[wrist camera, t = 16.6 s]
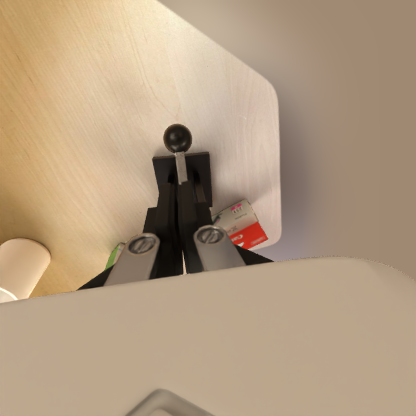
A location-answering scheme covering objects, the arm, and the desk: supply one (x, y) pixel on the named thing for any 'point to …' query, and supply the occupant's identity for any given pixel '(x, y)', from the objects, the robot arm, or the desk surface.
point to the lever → (178, 146)
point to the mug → (21, 267)
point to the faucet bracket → (195, 172)
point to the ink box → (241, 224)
